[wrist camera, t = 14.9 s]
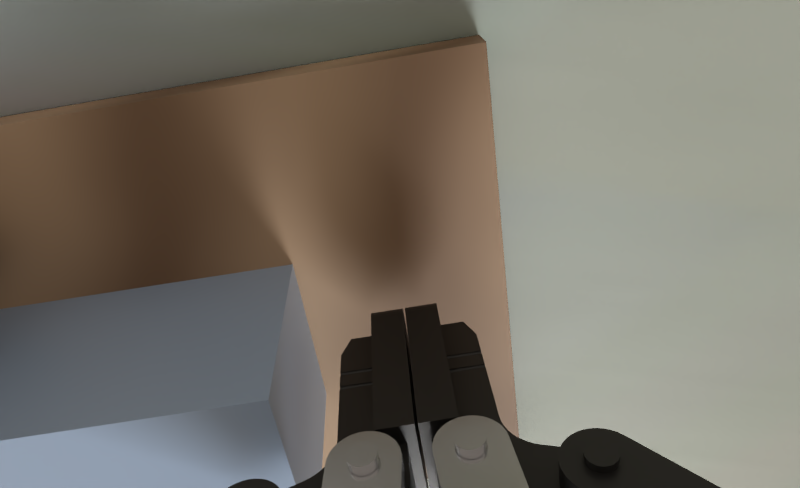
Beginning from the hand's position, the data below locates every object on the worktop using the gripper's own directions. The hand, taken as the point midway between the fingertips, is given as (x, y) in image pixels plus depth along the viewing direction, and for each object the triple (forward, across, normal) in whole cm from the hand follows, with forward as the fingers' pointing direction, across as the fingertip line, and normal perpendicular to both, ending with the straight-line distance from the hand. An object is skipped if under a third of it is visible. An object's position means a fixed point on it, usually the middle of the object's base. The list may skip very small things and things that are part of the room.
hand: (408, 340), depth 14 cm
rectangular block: (+1, +7, 0) cm, 7 cm away
